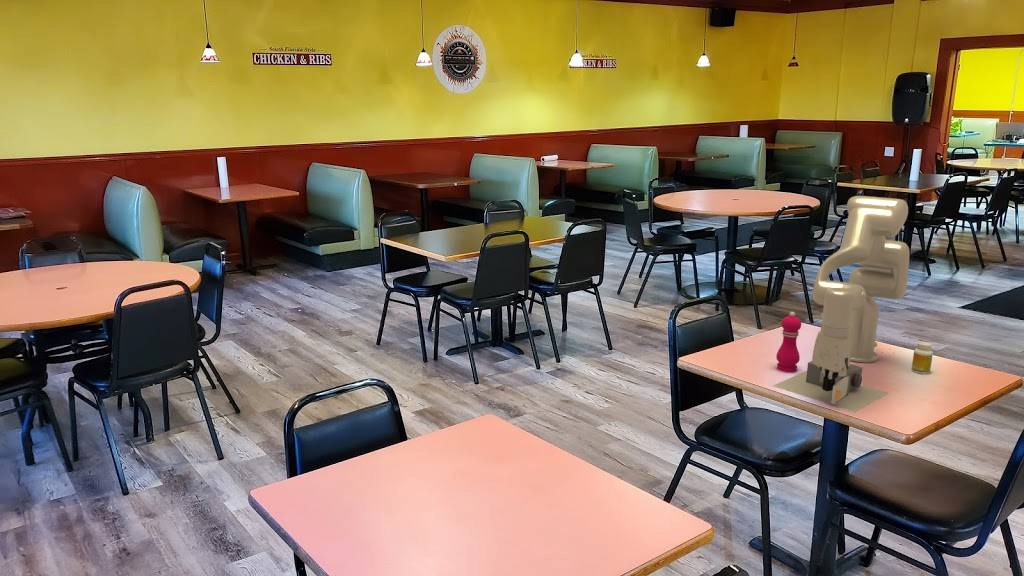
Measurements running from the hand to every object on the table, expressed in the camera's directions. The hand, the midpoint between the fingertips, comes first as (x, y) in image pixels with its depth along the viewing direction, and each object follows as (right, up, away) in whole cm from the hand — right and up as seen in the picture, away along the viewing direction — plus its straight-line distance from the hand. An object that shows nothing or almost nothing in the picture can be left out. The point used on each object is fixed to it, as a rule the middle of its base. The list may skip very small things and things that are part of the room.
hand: (828, 389), depth 224 cm
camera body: (+7, 0, +13) cm, 15 cm away
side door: (+4, -3, +1) cm, 5 cm away
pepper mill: (-3, +3, +27) cm, 27 cm away
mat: (+5, -1, +9) cm, 11 cm away
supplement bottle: (+41, +2, +26) cm, 49 cm away
